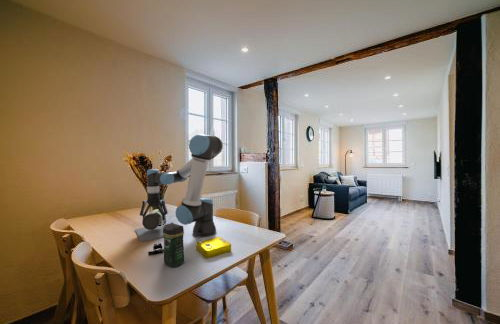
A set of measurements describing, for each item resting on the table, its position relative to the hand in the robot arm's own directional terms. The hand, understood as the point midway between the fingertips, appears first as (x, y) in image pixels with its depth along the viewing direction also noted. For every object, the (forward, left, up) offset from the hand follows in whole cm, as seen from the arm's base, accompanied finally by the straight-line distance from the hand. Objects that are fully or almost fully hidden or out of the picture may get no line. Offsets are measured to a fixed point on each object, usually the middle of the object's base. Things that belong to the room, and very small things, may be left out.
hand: (154, 225), depth 148 cm
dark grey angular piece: (-34, +5, -6) cm, 35 cm away
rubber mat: (0, 0, -5) cm, 5 cm away
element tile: (-50, -21, -6) cm, 54 cm away
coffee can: (+7, -4, +4) cm, 9 cm away
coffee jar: (-52, +1, -5) cm, 52 cm away
